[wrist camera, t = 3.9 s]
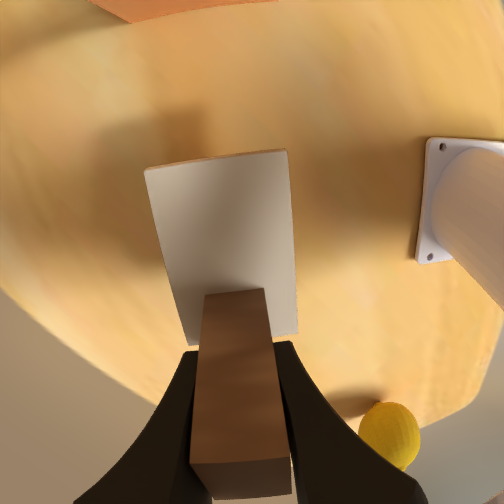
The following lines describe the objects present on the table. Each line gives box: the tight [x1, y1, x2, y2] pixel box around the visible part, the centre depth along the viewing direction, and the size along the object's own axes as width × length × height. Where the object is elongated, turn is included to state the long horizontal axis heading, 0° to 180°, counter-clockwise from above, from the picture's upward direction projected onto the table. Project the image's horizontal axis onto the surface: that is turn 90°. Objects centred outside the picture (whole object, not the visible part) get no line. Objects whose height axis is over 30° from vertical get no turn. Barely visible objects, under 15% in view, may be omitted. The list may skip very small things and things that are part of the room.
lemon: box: [358, 402, 420, 471], centre depth 23 cm, size 6×6×8 cm
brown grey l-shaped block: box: [144, 148, 298, 500], centre depth 9 cm, size 5×8×8 cm, turn 6°
